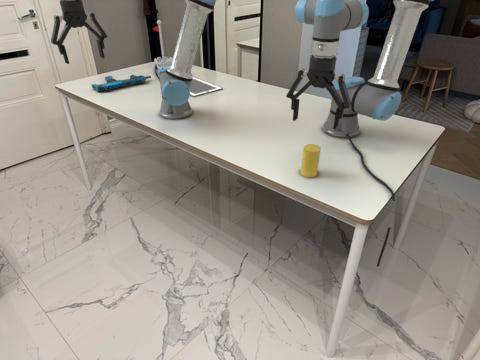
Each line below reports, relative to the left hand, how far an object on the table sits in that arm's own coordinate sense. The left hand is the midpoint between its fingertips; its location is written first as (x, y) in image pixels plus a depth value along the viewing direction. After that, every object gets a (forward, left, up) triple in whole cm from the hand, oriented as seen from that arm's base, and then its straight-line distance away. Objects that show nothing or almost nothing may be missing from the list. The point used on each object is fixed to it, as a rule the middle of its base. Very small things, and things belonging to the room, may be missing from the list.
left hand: (85, 60), depth 133 cm
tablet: (-28, +66, -31) cm, 78 cm away
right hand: (+81, +43, -12) cm, 93 cm away
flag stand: (-77, +75, -31) cm, 112 cm away
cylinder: (+81, +43, -31) cm, 97 cm away
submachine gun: (-61, +35, -31) cm, 77 cm away
